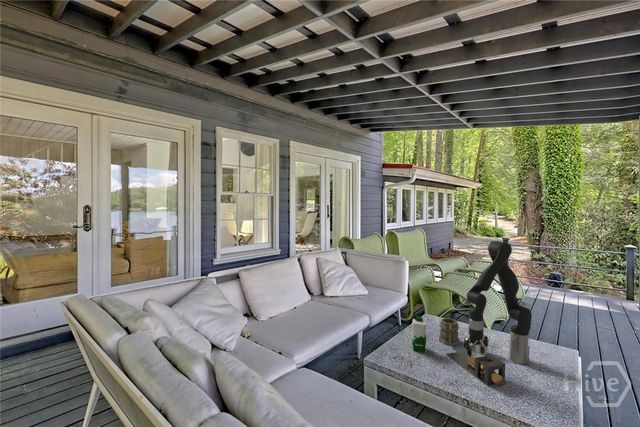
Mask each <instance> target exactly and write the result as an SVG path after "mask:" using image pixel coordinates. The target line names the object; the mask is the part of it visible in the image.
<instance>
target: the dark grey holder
mask: <svg viewBox="0 0 640 427" xmlns="http://www.w3.org/2000/svg"><path fill="white" fill-rule="evenodd" d="M445 356H447V357H448V358H450V359H451V360H452V361H453V362H455V363H456V364H457V365H459V366H460V367H461V368H463V370H465V371H466V372H468V373H469V374H470V375H471V376H473V377H475V378H476V379H477V380H478V381H480V382H481V383H482V384H484V386H487V387H491V386H497V385H496V384H495V383H493V382H492V381H491V370H493V371H494V372H496V371H498V372H497V374H499V375H500V376H502V377H503V379H504V381H503V383H502V385H503V384H507V382H506V363H504V362H503V361H502V360H500V359H498V358H497V357H496V356H493V355H483V356H479V357H474V358H475V369H474V368H473V367H471V366H470V365H469V364H467V363H466V358H467V357H468V356H469V355H468V354H467V353H464V352H463V351H456V352H450V353H445ZM481 364H483V365H484V366H485V368H484V375H482V374H481Z"/></svg>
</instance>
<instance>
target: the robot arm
mask: <svg viewBox="0 0 640 427" xmlns="http://www.w3.org/2000/svg"><path fill="white" fill-rule="evenodd" d="M487 251H488V254H489V257H490V259H491V261H492V263H490V264H489V265H488V266H487V267H486V268H485V269H484V270H482V272H481V273H480V274H479V276H478V279H477V280H476V282H475V284H474V285H472V287H471V288H470V289H469V290H468V292H467V293H466V301H467V302H469V303H471V304H473V305H474V306H475V307H471V308H469V311H468V312H469V318H468V335H469V337H468V338H467V337H464V339H463V340H464V341H463V348H464V349H466V355H468V356H472V349H473V348H474V347H476V345H481V346H480V353H482V354H484V352H485V347H486V346H488V347H489V343H488V337H489V336H488V335H485V334H484V330H485V328H484V327H485V326H484V311H485V309H486V305H487V297H486V295H485V294H483V293H482V292H487V291H489V290H490V288H491V286H492V283H493V281H494V279H495V277H496V276H497V277H498V281H499V284H500V287H501V290H502V292H503V296H504V300H505V303H506V304H505V305H506V310H507V313H508V315H509V317H510V318H511V319H513V320H515V321H517V324H514V325H511V326H510V335H509V336H510V340H509V341H510V342H509V360H510V361H511V362H513V363H515V364H519V365H526V364H528V363H529V362H530V348H531V347H530V346H529V339H530V338H529V337H530V336H529V335H530V331H531V327H532V317H533V316H532V314H533V313H532V311H531V310H530V309H529V308H528V307H525V306H522V305H520V304H519V301H518V298H517V295H518V292H519V289H520V284H519V281H518V280H519V279H518V278H517V275H516V273H515V272H514V271H513V270H512V268H511V267H510V266H509V265H508V264H507V263H506V262H507V261H508V259H509V258H510V257H511V255H512V251H513V248H512V245H511V244H510V243H509V242H504V241H495V240H492V241H490V242H489V243H488V246H487ZM487 336H488V337H487ZM482 340H483V342H482ZM485 342H486V343H485ZM482 354H481V355H482Z"/></svg>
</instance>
